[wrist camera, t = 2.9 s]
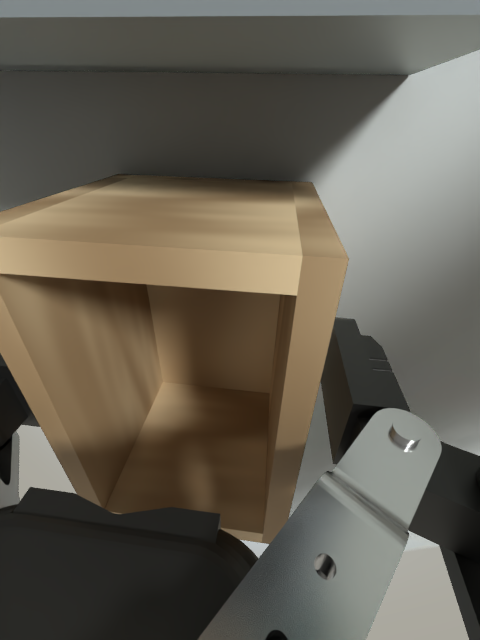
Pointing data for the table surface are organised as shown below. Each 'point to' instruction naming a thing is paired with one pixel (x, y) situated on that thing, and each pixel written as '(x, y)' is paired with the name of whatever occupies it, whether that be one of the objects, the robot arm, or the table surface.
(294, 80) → the table surface
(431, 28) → the grey square tray
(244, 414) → the small oak crate
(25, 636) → the robot arm
